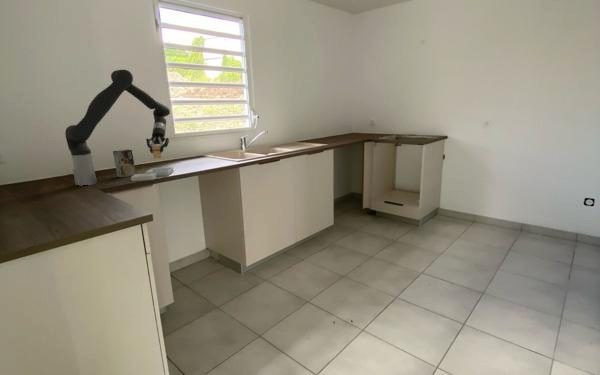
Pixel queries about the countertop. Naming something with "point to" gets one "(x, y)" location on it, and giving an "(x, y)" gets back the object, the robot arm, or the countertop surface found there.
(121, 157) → the coffee box
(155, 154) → the fuse
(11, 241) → the countertop surface
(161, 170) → the tray
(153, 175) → the fuse holder
